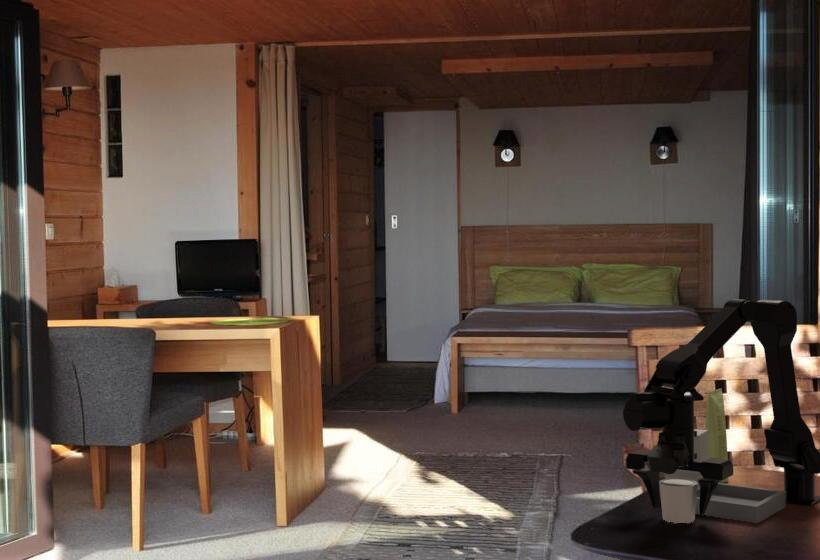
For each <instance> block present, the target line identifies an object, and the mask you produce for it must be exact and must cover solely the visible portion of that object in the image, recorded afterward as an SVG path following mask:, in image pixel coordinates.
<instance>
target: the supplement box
mask: <svg viewBox="0 0 820 560" xmlns="http://www.w3.org/2000/svg"><path fill="white" fill-rule="evenodd" d="M694 431H697V436H696V437H694V453H697V459H695V460H694V461H700V462H702V461H705V460H707V459H709V430H705V429H696V428H694ZM687 466H688V465H687ZM675 478H678V479H688V480H693V481H696V482H697V483H698V487H699V486H700V485H699V482H698V480H699V479H701V478H703V476H702V475H701V474H700V472H695V471H687V470H679V469H677V470H676V472H675V473H673V474H665V473H664V479H675Z"/></svg>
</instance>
